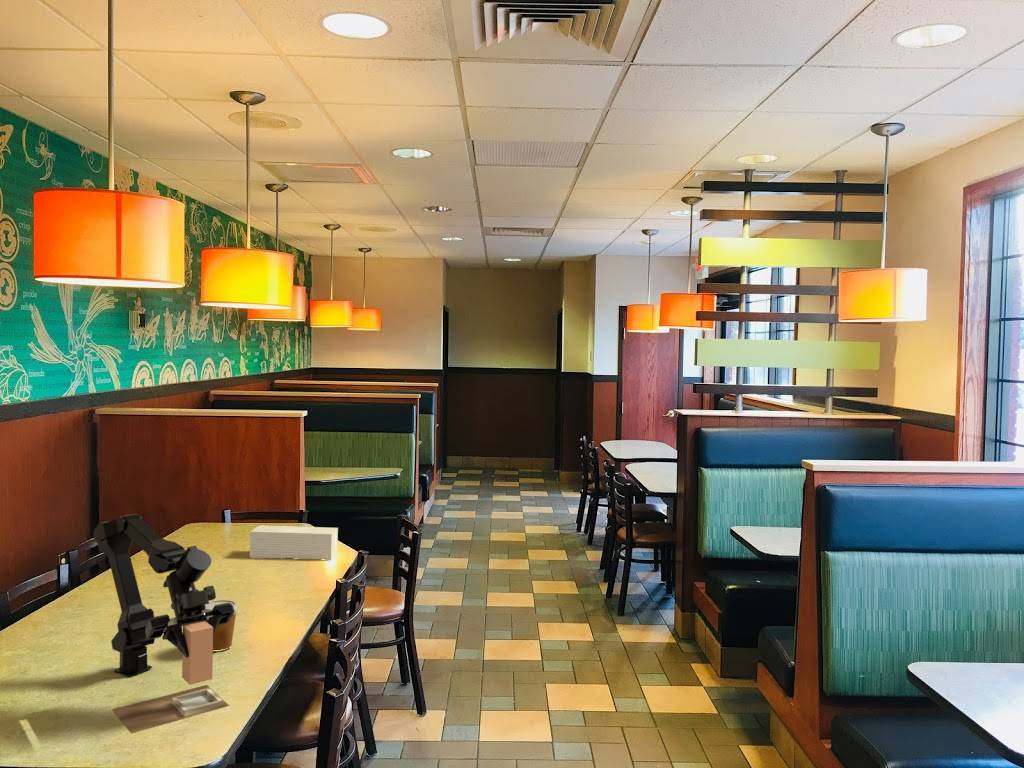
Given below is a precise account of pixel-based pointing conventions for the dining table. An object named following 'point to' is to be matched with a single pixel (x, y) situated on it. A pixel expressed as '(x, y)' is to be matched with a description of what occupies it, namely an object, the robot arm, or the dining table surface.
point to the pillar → (198, 652)
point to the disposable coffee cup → (222, 626)
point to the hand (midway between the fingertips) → (199, 653)
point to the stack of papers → (293, 542)
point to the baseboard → (169, 708)
